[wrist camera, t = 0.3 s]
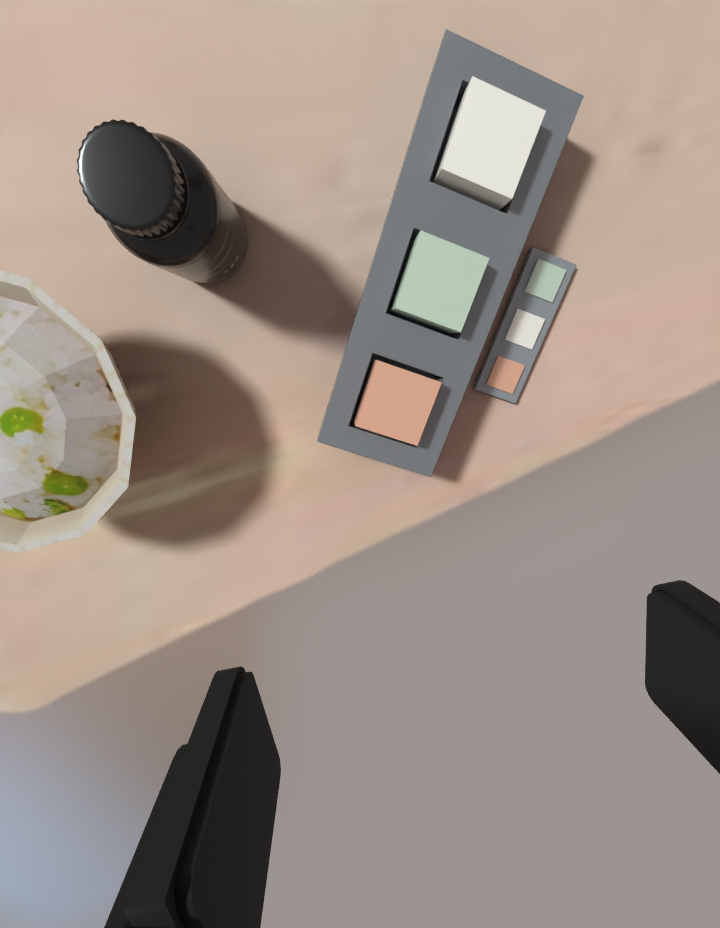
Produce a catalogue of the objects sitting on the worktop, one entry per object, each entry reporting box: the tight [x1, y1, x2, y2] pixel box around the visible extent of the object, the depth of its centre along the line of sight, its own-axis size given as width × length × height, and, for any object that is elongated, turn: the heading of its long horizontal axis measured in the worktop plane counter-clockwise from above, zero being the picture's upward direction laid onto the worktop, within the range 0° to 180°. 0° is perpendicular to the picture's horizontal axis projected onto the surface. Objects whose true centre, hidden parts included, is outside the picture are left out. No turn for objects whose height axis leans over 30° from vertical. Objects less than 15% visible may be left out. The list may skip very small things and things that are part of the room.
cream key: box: [433, 76, 546, 210], centre depth 27 cm, size 5×5×3 cm
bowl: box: [0, 270, 136, 553], centre depth 29 cm, size 19×19×10 cm
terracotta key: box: [354, 359, 442, 446], centre depth 31 cm, size 5×5×3 cm
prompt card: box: [474, 247, 576, 403], centre depth 33 cm, size 12×4×1 cm, turn 161°
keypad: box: [317, 29, 584, 477], centre depth 31 cm, size 28×10×4 cm, turn 161°
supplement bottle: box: [77, 120, 247, 284], centre depth 25 cm, size 7×7×12 cm
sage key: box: [390, 231, 489, 334], centre depth 29 cm, size 5×5×3 cm
